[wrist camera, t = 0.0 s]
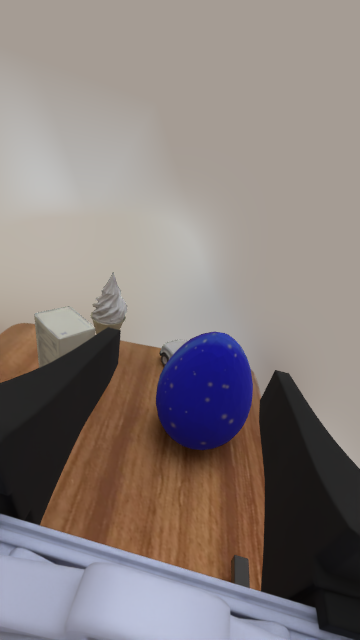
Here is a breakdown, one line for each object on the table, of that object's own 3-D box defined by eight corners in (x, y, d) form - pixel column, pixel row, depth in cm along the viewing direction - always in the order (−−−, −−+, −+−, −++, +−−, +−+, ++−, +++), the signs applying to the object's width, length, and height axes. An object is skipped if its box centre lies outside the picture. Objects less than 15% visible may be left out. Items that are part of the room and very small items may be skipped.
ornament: (228, 411, 41) (263, 322, 34) (240, 472, 33) (289, 372, 26) (152, 400, 40) (171, 306, 33) (145, 460, 32) (168, 353, 25)
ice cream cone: (125, 364, 46) (137, 278, 39) (95, 372, 43) (101, 280, 36) (113, 347, 49) (121, 264, 42) (84, 353, 46) (87, 265, 39)
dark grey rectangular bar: (247, 648, 19) (252, 644, 19) (230, 643, 19) (234, 638, 19) (244, 563, 24) (248, 558, 23) (230, 559, 24) (234, 554, 23)
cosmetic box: (93, 407, 37) (98, 329, 31) (60, 423, 34) (59, 340, 28) (70, 379, 40) (71, 304, 35) (38, 392, 37) (33, 312, 32)
